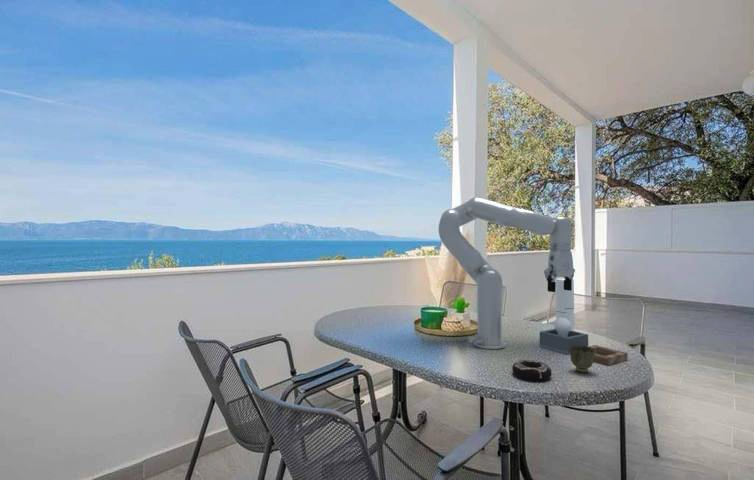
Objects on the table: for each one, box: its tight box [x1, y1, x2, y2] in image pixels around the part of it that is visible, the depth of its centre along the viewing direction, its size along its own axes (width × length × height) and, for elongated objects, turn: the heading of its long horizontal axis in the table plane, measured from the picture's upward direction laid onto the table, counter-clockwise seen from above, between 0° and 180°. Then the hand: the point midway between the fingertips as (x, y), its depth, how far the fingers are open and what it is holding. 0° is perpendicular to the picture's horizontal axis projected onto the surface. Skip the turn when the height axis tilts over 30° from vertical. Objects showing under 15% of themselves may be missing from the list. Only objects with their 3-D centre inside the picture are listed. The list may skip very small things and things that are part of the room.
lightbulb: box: [553, 318, 571, 337], centre depth 155 cm, size 6×6×11 cm
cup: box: [569, 345, 595, 374], centre depth 128 cm, size 8×7×8 cm
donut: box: [511, 359, 552, 382], centre depth 125 cm, size 12×12×4 cm
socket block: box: [588, 344, 629, 367], centre depth 142 cm, size 12×12×2 cm
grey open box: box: [539, 328, 589, 356], centre depth 155 cm, size 12×12×6 cm
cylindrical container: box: [555, 278, 575, 331], centre depth 174 cm, size 7×7×25 cm
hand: (559, 290), depth 156 cm, fingers open, 9 cm apart
